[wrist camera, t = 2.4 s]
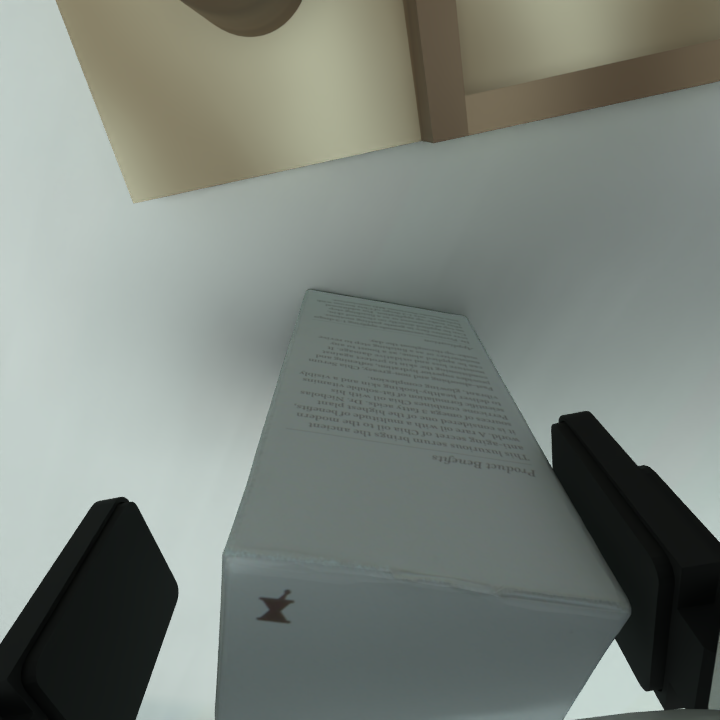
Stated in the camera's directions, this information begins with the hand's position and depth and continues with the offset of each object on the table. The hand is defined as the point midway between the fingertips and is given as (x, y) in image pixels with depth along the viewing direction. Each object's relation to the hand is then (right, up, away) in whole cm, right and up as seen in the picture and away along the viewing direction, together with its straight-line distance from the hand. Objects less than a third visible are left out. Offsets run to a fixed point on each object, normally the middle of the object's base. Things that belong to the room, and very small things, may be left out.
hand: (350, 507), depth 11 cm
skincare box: (+1, +4, +8) cm, 9 cm away
